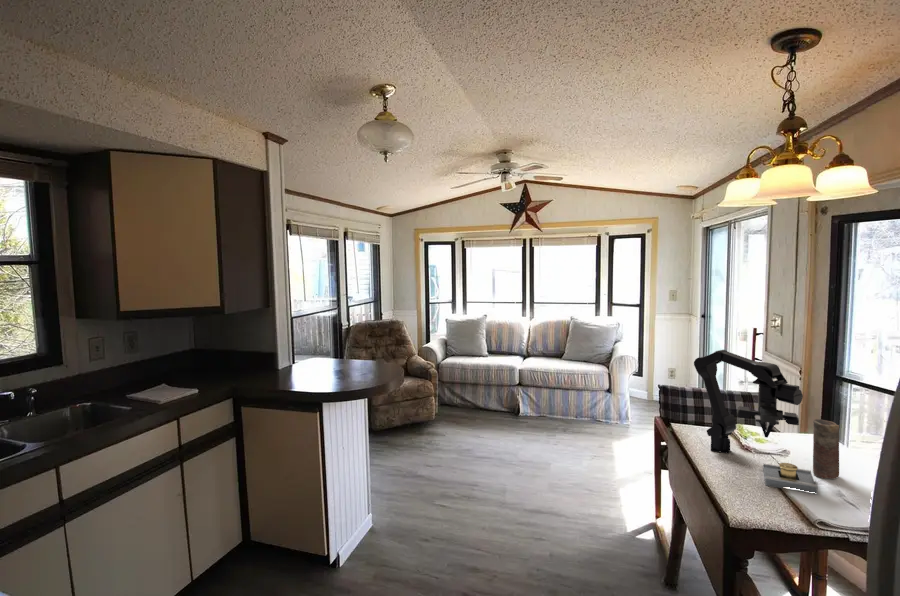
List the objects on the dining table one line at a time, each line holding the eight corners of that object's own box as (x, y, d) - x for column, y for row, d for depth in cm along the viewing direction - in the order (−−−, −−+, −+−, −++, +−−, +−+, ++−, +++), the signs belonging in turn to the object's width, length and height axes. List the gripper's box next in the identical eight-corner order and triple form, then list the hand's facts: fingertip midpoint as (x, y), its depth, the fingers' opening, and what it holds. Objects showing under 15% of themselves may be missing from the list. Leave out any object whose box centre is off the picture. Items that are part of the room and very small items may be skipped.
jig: (765, 485, 158) (765, 477, 158) (763, 471, 168) (763, 463, 168) (816, 494, 151) (816, 485, 151) (810, 478, 161) (810, 470, 161)
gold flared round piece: (780, 484, 159) (780, 467, 158) (778, 477, 163) (778, 461, 163) (798, 487, 156) (798, 470, 156) (796, 480, 160) (796, 464, 160)
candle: (814, 468, 168) (814, 416, 166) (840, 474, 163) (841, 421, 161) (811, 476, 163) (811, 422, 161) (837, 482, 157) (838, 427, 156)
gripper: (738, 400, 168) (737, 440, 169) (801, 407, 158) (799, 450, 159) (738, 391, 177) (737, 429, 179) (797, 398, 167) (796, 438, 169)
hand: (766, 437), depth 171 cm, fingers closed
